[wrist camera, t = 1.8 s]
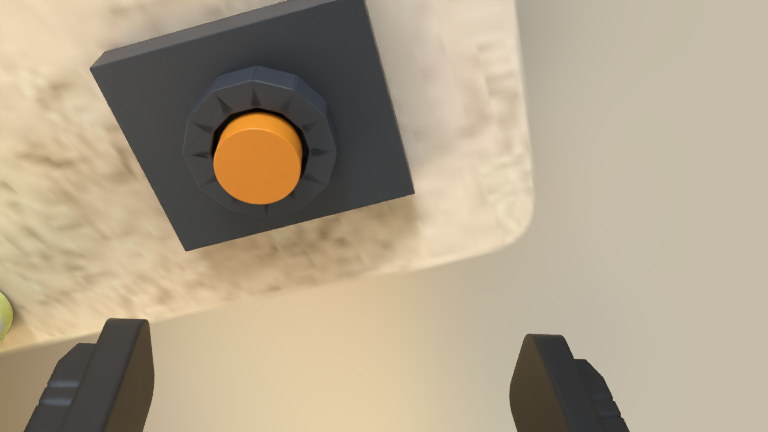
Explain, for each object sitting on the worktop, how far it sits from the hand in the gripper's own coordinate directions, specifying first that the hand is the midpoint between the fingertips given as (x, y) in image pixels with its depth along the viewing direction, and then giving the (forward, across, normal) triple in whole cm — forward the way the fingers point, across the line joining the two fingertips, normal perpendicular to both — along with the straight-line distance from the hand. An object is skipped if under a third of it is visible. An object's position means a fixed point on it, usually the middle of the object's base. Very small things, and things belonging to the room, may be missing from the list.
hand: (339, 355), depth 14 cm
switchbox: (+19, +3, +3) cm, 20 cm away
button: (+16, +3, +3) cm, 16 cm away
